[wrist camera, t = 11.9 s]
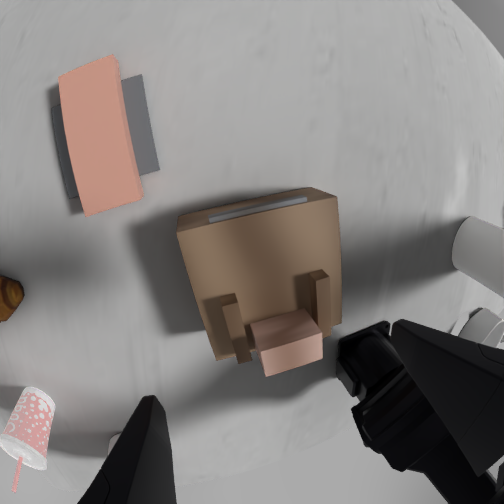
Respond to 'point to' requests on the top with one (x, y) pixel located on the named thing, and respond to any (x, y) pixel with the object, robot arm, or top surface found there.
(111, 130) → the salmon pink rectangular block
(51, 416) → the beverage cup
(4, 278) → the croissant
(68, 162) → the pad
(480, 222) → the cylindrical container
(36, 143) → the top surface
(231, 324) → the dispenser
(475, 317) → the saucepan
